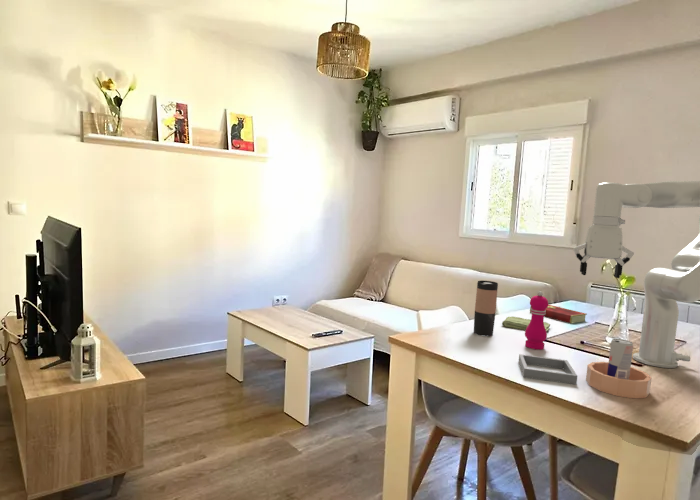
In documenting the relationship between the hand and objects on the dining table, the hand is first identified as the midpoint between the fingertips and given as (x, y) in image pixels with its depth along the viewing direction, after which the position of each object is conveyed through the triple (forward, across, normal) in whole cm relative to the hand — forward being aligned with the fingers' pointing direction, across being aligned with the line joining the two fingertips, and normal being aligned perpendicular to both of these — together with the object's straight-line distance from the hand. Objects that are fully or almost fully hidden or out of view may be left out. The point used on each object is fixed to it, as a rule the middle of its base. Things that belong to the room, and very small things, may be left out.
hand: (599, 276), depth 147 cm
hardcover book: (+29, -2, -68) cm, 74 cm away
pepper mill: (+28, +16, -10) cm, 34 cm away
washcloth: (+29, +15, -39) cm, 51 cm away
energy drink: (+28, -2, +21) cm, 35 cm away
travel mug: (+28, +33, -20) cm, 48 cm away
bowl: (+28, -2, +21) cm, 35 cm away
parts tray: (+28, +16, +17) cm, 37 cm away
